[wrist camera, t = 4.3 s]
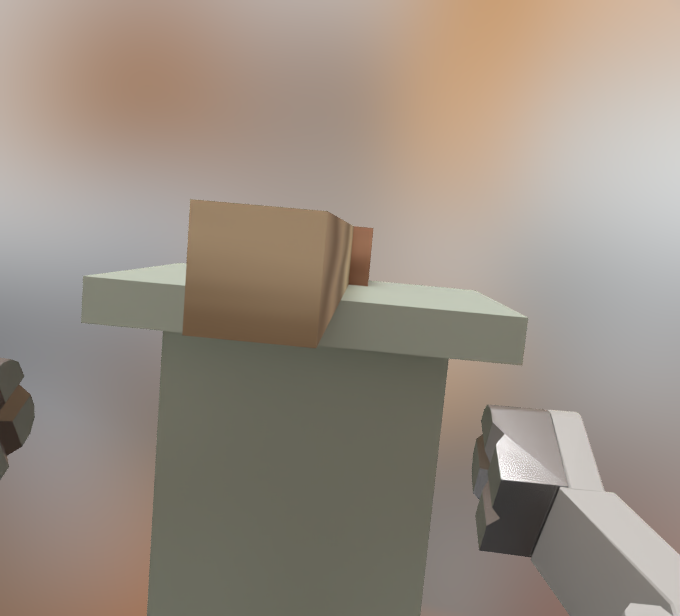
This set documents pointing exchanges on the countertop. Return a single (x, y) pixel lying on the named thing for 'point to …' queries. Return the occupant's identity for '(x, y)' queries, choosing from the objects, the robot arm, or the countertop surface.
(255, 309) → the bar
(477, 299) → the shelf stand
